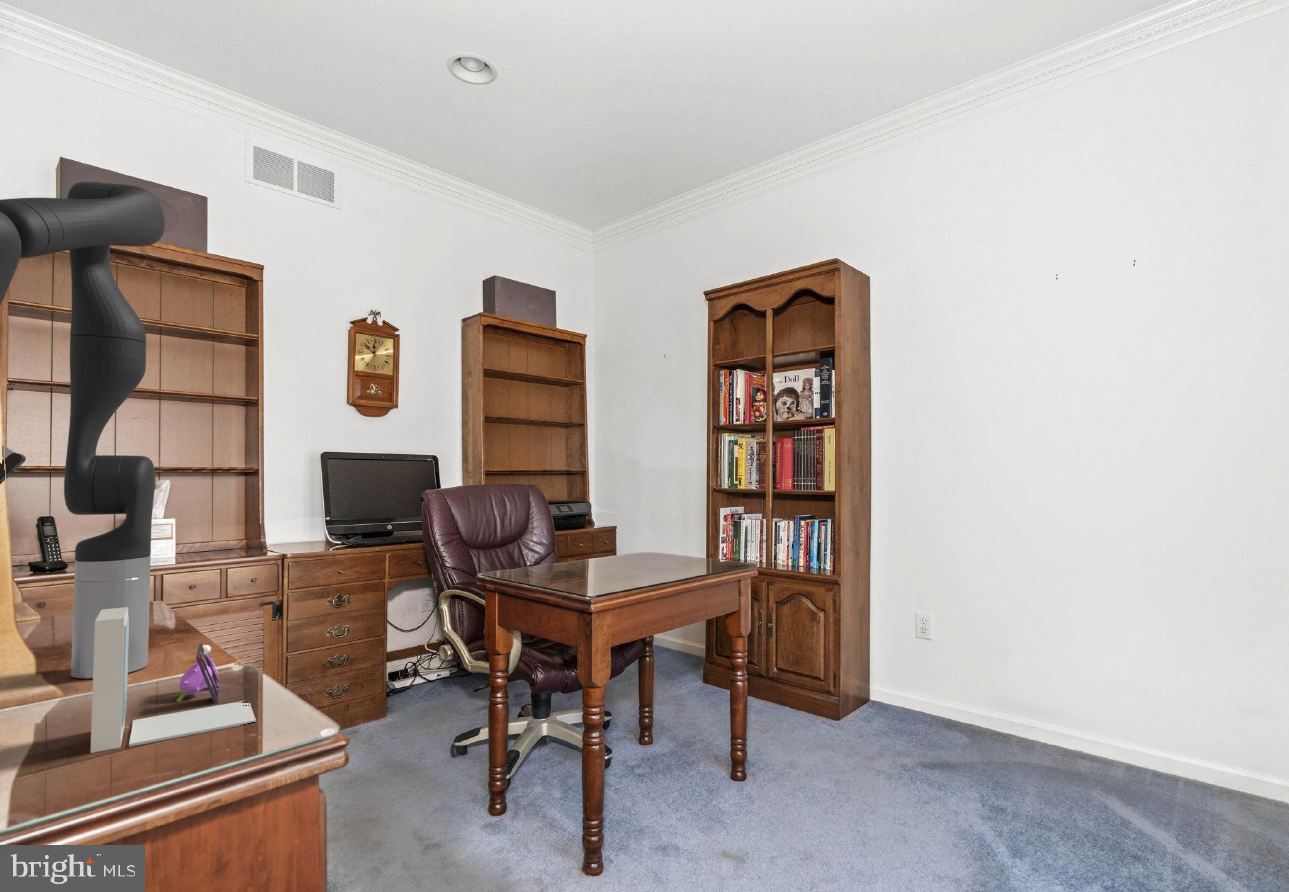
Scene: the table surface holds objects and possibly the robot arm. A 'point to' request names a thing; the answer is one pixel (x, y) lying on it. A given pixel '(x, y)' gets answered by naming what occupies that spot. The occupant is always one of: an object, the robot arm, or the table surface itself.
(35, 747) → the table surface
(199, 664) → the purple frame
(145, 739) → the mat
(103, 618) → the off-white rectangular block
